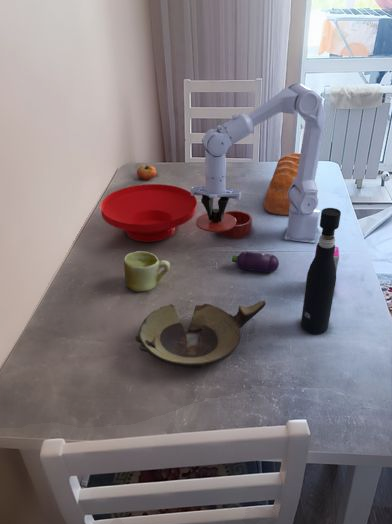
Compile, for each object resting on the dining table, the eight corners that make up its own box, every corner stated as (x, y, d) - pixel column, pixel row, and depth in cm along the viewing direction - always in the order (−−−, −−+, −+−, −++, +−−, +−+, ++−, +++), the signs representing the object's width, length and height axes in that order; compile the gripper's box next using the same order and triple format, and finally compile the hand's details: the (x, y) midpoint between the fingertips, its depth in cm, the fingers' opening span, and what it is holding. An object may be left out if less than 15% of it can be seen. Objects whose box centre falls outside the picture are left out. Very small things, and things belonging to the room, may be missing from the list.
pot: (254, 224, 160) (255, 212, 157) (247, 240, 151) (247, 227, 149) (222, 221, 162) (222, 209, 160) (213, 236, 154) (213, 223, 152)
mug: (114, 288, 129) (120, 253, 125) (126, 279, 138) (133, 245, 134) (157, 301, 127) (165, 266, 124) (167, 291, 137) (174, 257, 133)
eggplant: (279, 267, 138) (281, 252, 135) (276, 276, 134) (277, 261, 131) (234, 261, 142) (234, 246, 138) (230, 270, 138) (230, 255, 135)
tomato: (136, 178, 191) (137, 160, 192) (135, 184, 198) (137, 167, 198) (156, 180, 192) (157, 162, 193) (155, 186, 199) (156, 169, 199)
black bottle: (329, 320, 118) (348, 206, 100) (326, 336, 113) (345, 220, 95) (303, 316, 120) (317, 203, 102) (298, 331, 115) (313, 216, 97)
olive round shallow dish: (142, 318, 121) (139, 293, 117) (261, 315, 121) (263, 289, 116) (133, 381, 104) (129, 355, 99) (273, 378, 103) (275, 351, 98)
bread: (314, 182, 186) (318, 148, 178) (307, 217, 162) (311, 180, 154) (273, 179, 190) (276, 145, 182) (261, 213, 166) (263, 176, 158)
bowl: (87, 244, 153) (81, 215, 146) (132, 205, 175) (129, 178, 169) (174, 260, 143) (172, 230, 137) (210, 217, 165) (210, 189, 159)
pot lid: (240, 217, 147) (240, 204, 144) (230, 236, 138) (230, 221, 135) (202, 213, 150) (202, 200, 147) (190, 231, 141) (190, 217, 138)
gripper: (186, 178, 134) (188, 222, 142) (237, 182, 130) (236, 228, 138) (194, 169, 139) (195, 212, 147) (243, 173, 135) (242, 217, 144)
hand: (215, 219), depth 143 cm, fingers closed on pot lid, 2 cm apart
